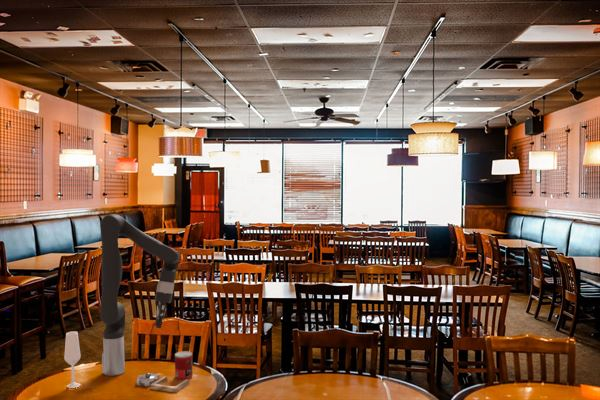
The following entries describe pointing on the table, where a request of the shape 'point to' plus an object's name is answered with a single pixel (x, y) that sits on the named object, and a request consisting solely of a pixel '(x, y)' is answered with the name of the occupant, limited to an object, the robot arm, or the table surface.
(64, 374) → the table surface
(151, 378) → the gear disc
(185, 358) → the canned food
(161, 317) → the robot arm
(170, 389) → the cradle
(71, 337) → the champagne flute
